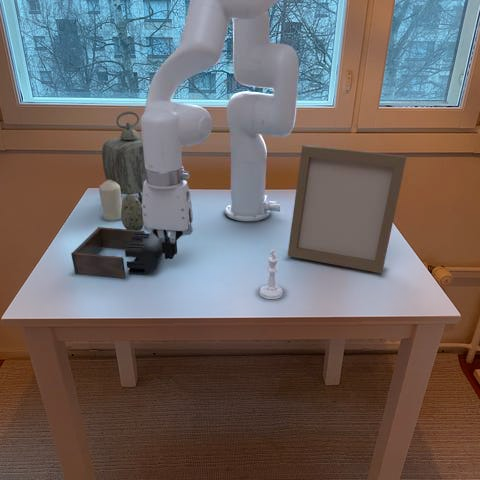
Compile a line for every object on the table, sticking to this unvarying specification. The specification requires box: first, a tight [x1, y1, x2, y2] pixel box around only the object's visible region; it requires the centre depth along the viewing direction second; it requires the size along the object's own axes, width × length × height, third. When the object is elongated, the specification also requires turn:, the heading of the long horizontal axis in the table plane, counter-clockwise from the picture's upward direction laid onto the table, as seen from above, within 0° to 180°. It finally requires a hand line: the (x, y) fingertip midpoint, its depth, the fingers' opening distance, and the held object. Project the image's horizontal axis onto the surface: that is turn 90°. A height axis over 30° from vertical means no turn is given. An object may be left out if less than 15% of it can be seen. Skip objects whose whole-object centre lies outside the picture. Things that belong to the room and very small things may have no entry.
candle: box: [98, 180, 123, 221], centre depth 133 cm, size 6×6×10 cm
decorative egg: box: [120, 194, 144, 231], centre depth 126 cm, size 6×6×10 cm
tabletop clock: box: [101, 111, 146, 204], centre depth 139 cm, size 14×9×25 cm, turn 133°
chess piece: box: [258, 249, 284, 300], centre depth 101 cm, size 5×5×10 cm
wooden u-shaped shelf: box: [70, 226, 146, 280], centre depth 113 cm, size 12×15×5 cm
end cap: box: [124, 233, 164, 276], centre depth 111 cm, size 10×7×7 cm
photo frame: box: [287, 145, 408, 274], centre depth 112 cm, size 15×22×25 cm
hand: (170, 256), depth 111 cm, fingers closed
